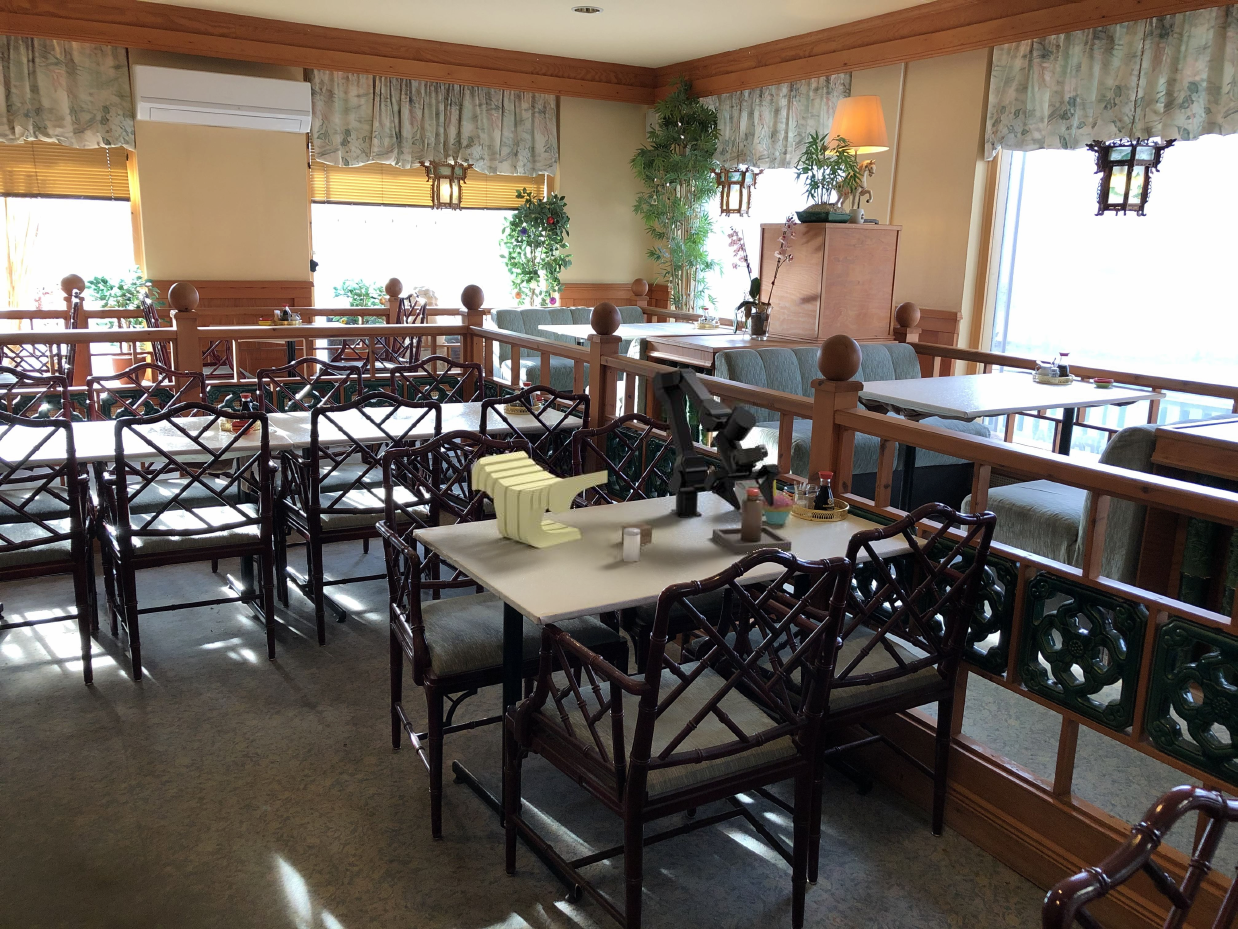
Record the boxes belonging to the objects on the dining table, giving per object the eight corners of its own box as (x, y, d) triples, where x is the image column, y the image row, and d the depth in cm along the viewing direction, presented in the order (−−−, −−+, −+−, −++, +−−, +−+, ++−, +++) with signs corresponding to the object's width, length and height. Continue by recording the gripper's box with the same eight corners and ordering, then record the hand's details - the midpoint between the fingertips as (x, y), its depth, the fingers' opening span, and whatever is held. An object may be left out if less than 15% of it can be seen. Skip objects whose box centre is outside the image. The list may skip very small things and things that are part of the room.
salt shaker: (621, 557, 216) (622, 528, 214) (636, 556, 217) (637, 527, 215) (625, 562, 212) (626, 532, 211) (641, 561, 213) (642, 531, 212)
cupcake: (782, 528, 242) (785, 481, 240) (752, 522, 247) (754, 476, 245) (798, 521, 249) (801, 475, 246) (769, 515, 254) (771, 471, 251)
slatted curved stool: (472, 531, 235) (471, 459, 231) (523, 520, 246) (523, 451, 242) (554, 559, 214) (554, 480, 210) (606, 545, 225) (607, 470, 221)
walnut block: (621, 541, 228) (622, 525, 228) (638, 538, 231) (638, 522, 231) (634, 546, 225) (635, 530, 224) (651, 543, 228) (652, 527, 227)
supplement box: (733, 509, 260) (735, 463, 257) (758, 507, 262) (760, 461, 260) (744, 516, 253) (746, 468, 251) (770, 514, 255) (772, 467, 253)
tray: (712, 537, 233) (712, 529, 232) (766, 533, 237) (766, 526, 236) (734, 554, 220) (734, 545, 219) (791, 550, 223) (791, 542, 223)
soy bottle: (736, 539, 228) (738, 489, 225) (748, 535, 231) (750, 486, 229) (753, 543, 225) (755, 493, 222) (765, 539, 228) (767, 489, 226)
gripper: (712, 435, 222) (737, 492, 215) (778, 430, 230) (805, 485, 223) (693, 462, 231) (716, 518, 223) (757, 456, 239) (782, 510, 232)
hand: (756, 507), depth 225 cm, fingers open, 9 cm apart
